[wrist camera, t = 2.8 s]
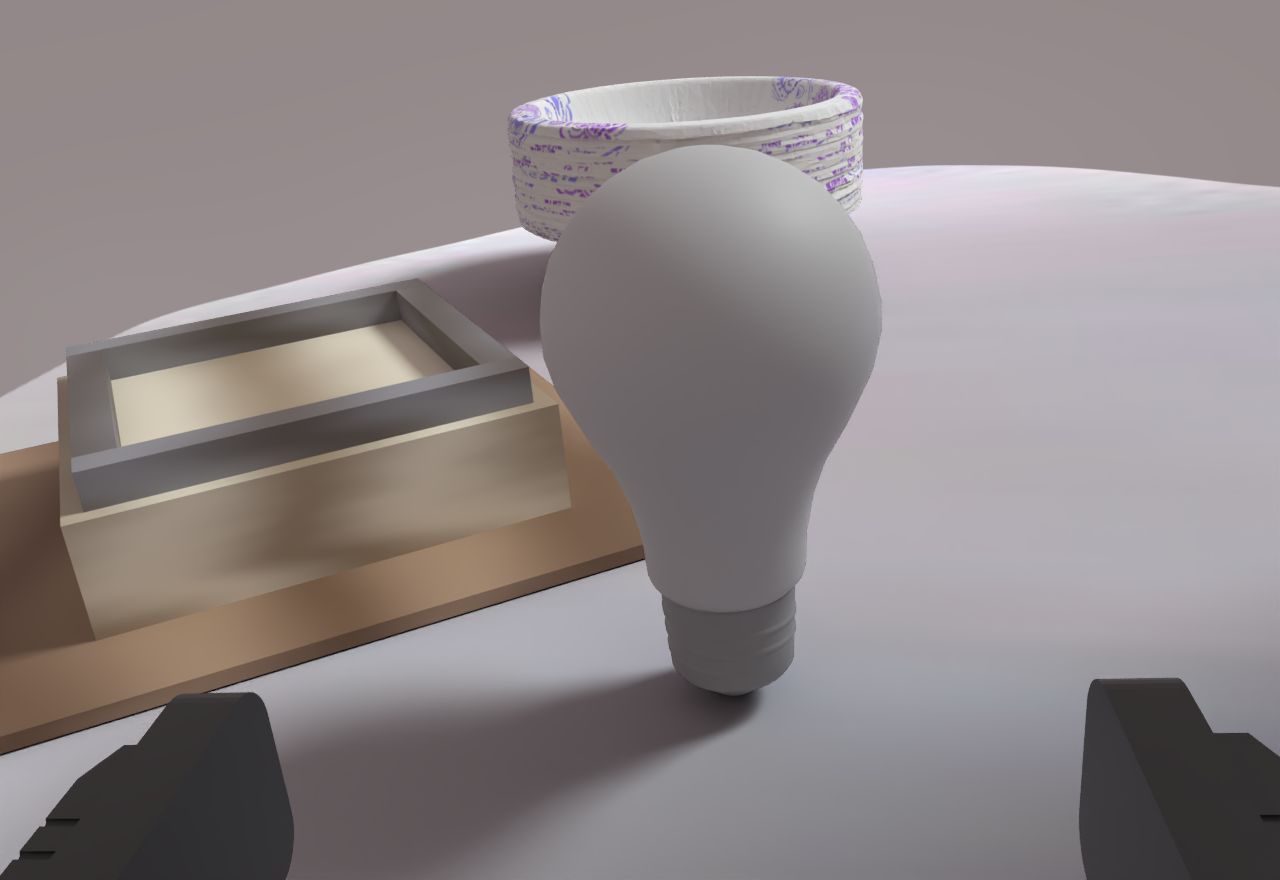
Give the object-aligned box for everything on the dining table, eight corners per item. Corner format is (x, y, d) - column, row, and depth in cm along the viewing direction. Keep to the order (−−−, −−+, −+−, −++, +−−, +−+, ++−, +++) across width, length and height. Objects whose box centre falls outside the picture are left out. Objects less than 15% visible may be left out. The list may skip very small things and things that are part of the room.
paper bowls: (939, 264, 52) (940, 75, 49) (655, 353, 45) (635, 137, 42) (722, 218, 64) (712, 63, 61) (468, 282, 57) (443, 109, 53)
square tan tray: (500, 352, 46) (484, 240, 44) (723, 533, 31) (712, 374, 29) (-12, 468, 40) (-54, 343, 38) (-50, 769, 25) (-123, 582, 23)
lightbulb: (594, 618, 28) (535, 135, 23) (859, 599, 27) (849, 106, 23) (579, 794, 22) (499, 200, 18) (913, 771, 22) (913, 164, 18)
